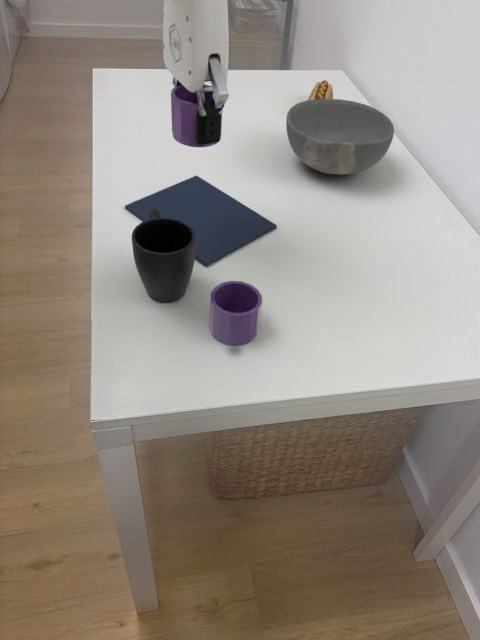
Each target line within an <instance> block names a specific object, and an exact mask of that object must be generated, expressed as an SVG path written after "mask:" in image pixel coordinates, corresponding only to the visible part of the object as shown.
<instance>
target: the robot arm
mask: <svg viewBox="0 0 480 640" xmlns="http://www.w3.org/2000/svg"><path fill="white" fill-rule="evenodd" d="M228 6H229V5H228V0H163V12H162V14H163V15H162V18H163V19H162V21H163V22H162V43H163V44H162V48H163V49H162V51H163V52H162V53H163V55H162V56H163V57H162V58H163V63H164V67H165V68H166V69H167V71H169V73H170V74H171V75H172V85H173V88H175V87H176V86H178V85H183V86H184V87H185V88H186V89H187V90H188V91H190V92H196V94H197V101H198V107H199V113H196V142H197V144H198V145H205V144H211V143H217V142H218V143H220V141H221V139H220V128H221V114H222V115H223V112H224V108H225V104H226V103H227V101H228V99H229V98H230V97H229V90H228V86H227V83H228V76H229V59H230V58H229V57H230V56H229V54H230V50H229V49H230V45H229V44H230V40H229V39H230V36H229V33H230V31H229V8H228ZM207 82H210V84H211V85H209V87H203V85H204V84H205V83H207ZM207 92H213V95H212V96H213V97H212V98H209V99H208V100H207V102H206V103H205V97H204V93H207ZM218 143H217V144H218Z"/></svg>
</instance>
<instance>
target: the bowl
mask: <svg viewBox="0 0 480 640" xmlns="http://www.w3.org/2000/svg"><path fill="white" fill-rule="evenodd" d="M285 122H286V123H285V125H286V126H285V127H286V135H287V139H288V143H289V145H290V148H291V149H292V151H293V153H294V154H295V156H296V157H297V158H298V159H299V160H300V162H302V163H304V165H307V166H308V167H309V168H311V169H313V170H315V171H318V172H320V173H323V174H327V175H338V176H343V175H344V176H345V175H346V176H347V175H352V174H358V173H361V172H364V171H366V170H368V169H370V168H372V167H375V165H377V164H378V163H379V162H380V161H381V160H382V159H383V158H384V157H385V155H386V154H387V152H388V150H389V149H390V147H391V144H392V142H393V139H394V134H395V127H394V124H393V122H392V120H391V119H390V118H389V117H388V116H387V115H386V114H384V113H383V112H382V111H380V110H378V109H377V108H375V107H373V106H370V105H367V104H364V103H361V102H357V101H353V100H348V99H340V98H339V99H338V98H333V99H316V100H308V99H307V100H304V101H300V102H298V103H295V104H294V105H293V106H291V108H289V109H288V111H287V114H286V121H285Z"/></svg>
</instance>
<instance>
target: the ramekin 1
mask: <svg viewBox="0 0 480 640" xmlns="http://www.w3.org/2000/svg"><path fill="white" fill-rule="evenodd" d="M209 86H210V85H209V84H205V83H204V85H203V87H209ZM212 95H213V92H207V93H204V97H205V103H206V102H207V100H208V99H209V98H212V97H213V96H212ZM170 108H171V110H170V111H171V113H170V114H171V132H172V138H173V139H174V140H175V142H177V143H179V144H181V145H183V146H186V147H191V148H208V147H212V146H214V145H216V144H218V143H219V142H217V143H211V144H205V145H198V144H197V142H196V113H199V107H198V101H197V94H196V92H190V91H188V90H187V89H186V88H185V87H184V86H183V85H178V86H176V87H175V88H174V87H173V88H172V89H171V91H170ZM222 125H223V113H222V114H221V128H220V140H222V131H223V130H222V129H223V127H222Z"/></svg>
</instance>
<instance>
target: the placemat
mask: <svg viewBox="0 0 480 640" xmlns="http://www.w3.org/2000/svg"><path fill="white" fill-rule="evenodd" d="M151 208H157V209H158V210H159V211H160V215H161V218H173V219H177V220H180V221H182V222H185V223H186V224H188V225H189V226H190V227H191V228H192V229H193V231H194V233H195V261H198V262H199V263H200V264H201V265H203V266H205V267H209V266H211V265H212V264H214V263H216V262H218V261H219V260H222V259H224V258H225V257H226V256H229V255H231V254H232V253H235V252H236V251H238V250H240V249H241V248H243V247H245V246H246V245H248V244H251V243H252V242H254V241H256V240H258V239H259V238H261V237H263V236H265V235H267V234H269V233H270V232H272V231H274V230H276V229H277V227H278V224H276V223H274V222H272V221H271V220H270V219H268V218H266V217H265V216H263V215H261V214H259V213H258V212H256V211H255V210H253V209H252V208H250V207H249V206H247V205H245V204H244V203H242V202H240V201H239V200H237V199H236V198H234V197H232V196H231V195H229V194H227V193H226V192H224V191H222V190H221V189H220V188H218V187H216V186H214V185H213V184H212V183H209V182H208V181H206V180H205V179H203V178H202V177H200V176H198V175H194V176H192V177H190V178H187V179H185V180H183V181H180V182H177V183H175V184H173V185H171V186H168V187H166V188H163V189H161V190H158V191H156V192H154V193H151V194H149V195H147V196H144V197H142V198H140V199H137V200H134V201H133V202H130V203H128V204H125V205H124V209H125V210H126V211H128V212H129V213H131V215H133V216H134V217H136V218H138V219H139V220H140V221H142V222H144V221H146V220H149V209H151Z"/></svg>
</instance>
